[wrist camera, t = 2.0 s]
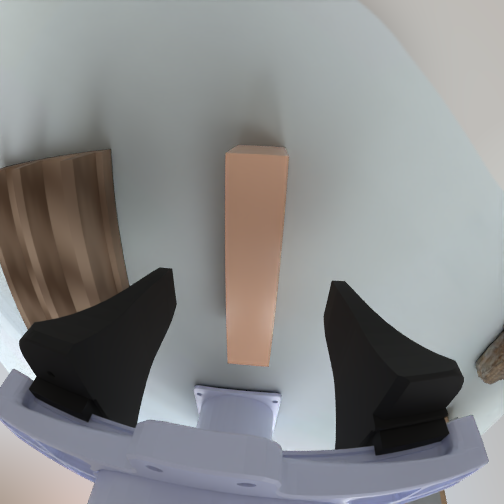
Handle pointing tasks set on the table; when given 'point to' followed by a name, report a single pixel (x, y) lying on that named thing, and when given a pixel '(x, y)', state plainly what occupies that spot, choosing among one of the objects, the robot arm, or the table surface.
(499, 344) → the brown rock
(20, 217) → the walnut rack
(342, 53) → the table surface
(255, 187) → the light brown long block
